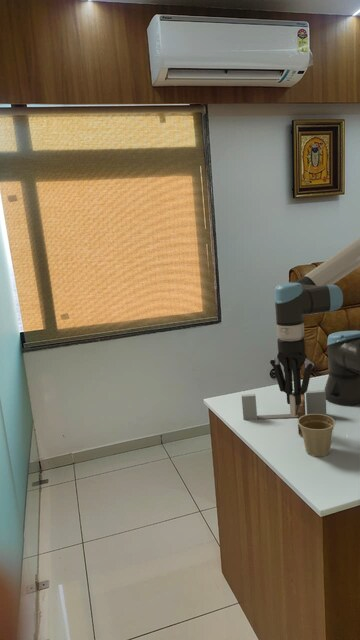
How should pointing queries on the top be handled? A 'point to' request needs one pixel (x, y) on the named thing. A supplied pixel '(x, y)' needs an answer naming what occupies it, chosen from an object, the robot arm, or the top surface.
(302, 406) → the door
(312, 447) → the flower pot
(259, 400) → the top surface
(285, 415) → the wall
